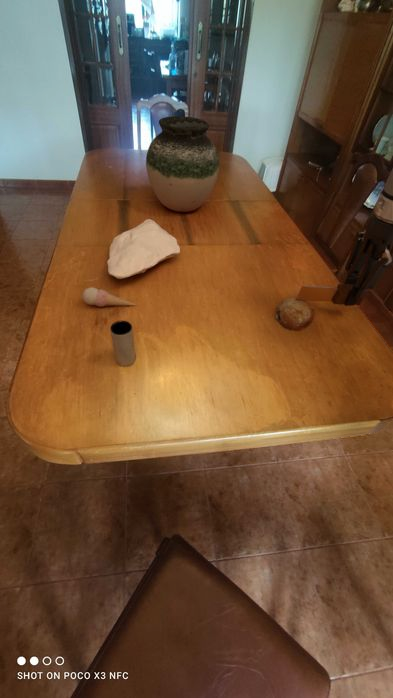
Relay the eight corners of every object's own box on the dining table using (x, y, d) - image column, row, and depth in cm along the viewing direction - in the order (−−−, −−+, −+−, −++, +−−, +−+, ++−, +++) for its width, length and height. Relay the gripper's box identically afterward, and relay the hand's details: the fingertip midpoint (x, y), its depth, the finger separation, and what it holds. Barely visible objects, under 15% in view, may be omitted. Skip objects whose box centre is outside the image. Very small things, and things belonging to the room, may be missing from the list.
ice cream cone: (139, 301, 91) (85, 290, 87) (141, 294, 87) (84, 282, 83) (136, 316, 90) (81, 306, 86) (138, 310, 85) (80, 298, 82)
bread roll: (272, 318, 94) (267, 300, 88) (303, 302, 93) (301, 283, 87) (288, 341, 87) (284, 324, 81) (322, 324, 86) (321, 305, 80)
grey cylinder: (128, 349, 76) (124, 317, 69) (139, 360, 74) (136, 328, 67) (112, 358, 74) (105, 326, 67) (123, 370, 72) (118, 338, 65)
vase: (157, 224, 122) (154, 133, 100) (141, 195, 140) (136, 112, 118) (224, 218, 130) (236, 132, 108) (201, 191, 148) (207, 113, 126)
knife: (355, 299, 89) (364, 284, 85) (359, 305, 87) (369, 290, 84) (293, 297, 85) (301, 281, 81) (297, 303, 83) (305, 287, 79)
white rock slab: (188, 236, 114) (185, 211, 108) (168, 293, 90) (163, 264, 84) (126, 237, 118) (120, 213, 112) (91, 292, 94) (81, 265, 87)
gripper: (356, 202, 75) (321, 284, 92) (394, 234, 64) (347, 320, 81) (385, 202, 76) (345, 283, 93) (427, 233, 65) (373, 319, 82)
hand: (346, 301), depth 87 cm, fingers closed on knife, 2 cm apart
